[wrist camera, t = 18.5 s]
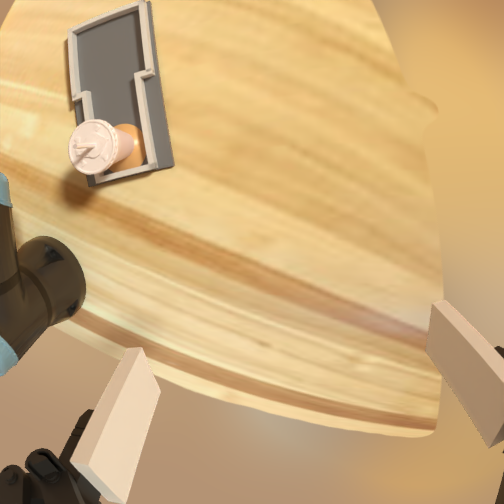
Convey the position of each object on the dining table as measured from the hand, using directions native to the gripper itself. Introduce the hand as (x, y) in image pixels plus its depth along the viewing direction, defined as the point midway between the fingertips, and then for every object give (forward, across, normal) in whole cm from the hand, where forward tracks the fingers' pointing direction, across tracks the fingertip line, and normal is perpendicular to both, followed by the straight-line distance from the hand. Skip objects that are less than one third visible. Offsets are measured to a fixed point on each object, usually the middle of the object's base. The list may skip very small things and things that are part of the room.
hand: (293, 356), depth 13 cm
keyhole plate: (+32, +18, -21) cm, 42 cm away
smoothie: (+31, +18, -12) cm, 38 cm away
